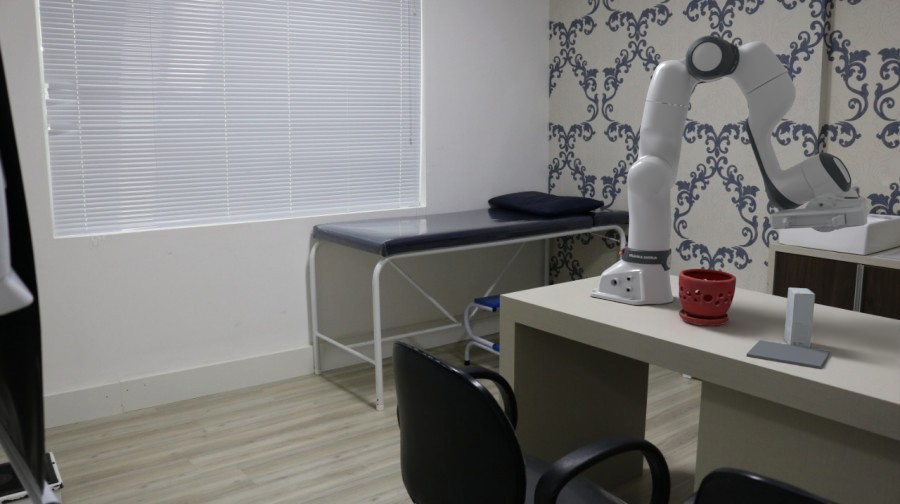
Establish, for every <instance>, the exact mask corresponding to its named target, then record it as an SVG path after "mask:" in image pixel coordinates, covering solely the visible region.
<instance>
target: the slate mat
mask: <svg viewBox="0 0 900 504" xmlns="http://www.w3.org/2000/svg"><path fill="white" fill-rule="evenodd" d="M830 353H831V351H830V350H825V349H818V348H814V347H813V348H811V347H810V348H807V347H801V346H795V345H789V344H788V343H787V344H786V343H781V342H775V341H769V340H768V341H767V340H761V339H760V340H758V341H757V342H756V343H755V345H753V347H751V348H750V349H749V350H748V352H747V353H745V354H746V357H749V358H756V359H761V360H766V361H767V360H768V361H773V362H778V363H785V364H790V363H791V365H796V364H797V365H798V366H802V365H803V366H802V367H809V368H815V369H822V367H823V365H824V364H825V362H826V361H827V358H829V355H830Z"/></svg>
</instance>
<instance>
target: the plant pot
mask: <svg viewBox="0 0 900 504" xmlns="http://www.w3.org/2000/svg"><path fill="white" fill-rule="evenodd" d="M678 273H679V274H678V298H679V304H680V306H681V309H679V310H678V315H679V317H680V318H681V319H682V320H683V321H685V322H687V323H689V324H692V325H696V326H697V325H698V326H706V327H709V326H710V327H711V326H720V325H723V324H725V323H726V322H728V321H729V317H730V316H729V314H728V311H729V310H730V308H731V306H732V304H733V300H734V297H735V294H736V293H735V292H736V285H737V277H736V275H734V274H733V273H730V272H726V271H721V270H717V269H709V268H708V269H707V268H688V269H682V270H681V271H680V272H678Z"/></svg>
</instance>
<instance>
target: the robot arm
mask: <svg viewBox="0 0 900 504" xmlns="http://www.w3.org/2000/svg"><path fill="white" fill-rule="evenodd" d="M788 72H789V71H787V69H786V67H785V66H784V65H783V63H782V62H781V60H780V58H778V56H777V55H776V53H774V51H773V50H772V49H771V48H770V46H769V45H768V44H767V43H766V42H763V41H760V40H757V41H756V40H755V41H750V42H747V43H745V44H743V45H742V46H739V47H738V45H735V44H733V43H731V42H729V41H727V40H725V39H724V38H721V37H719V36H715V35H704V36H701V37H699V38H697V39H696V40H694V41H693V42H692V43H691V44H690V46H689V47H688V48H687V50H686V54H685V57H684V58H683V59H680V60H679V59H678V60H677V59H669V60H665V61H662V62H660V63H659V64H658V65H657V66H656V68H655V69H654V72H653V74H652V77H651V80H650V83H649V85H648V89H647V93H646V98H645V103H644V108H643V113H642V118H641V124H640V128H639V145H638V153H637V155H638V156H637V160H636V161H634V162H633V163H632V164H631V165H630V168H629V169H628V172H627V177H626V181H627V182H626V183H627V186H626V187H627V203H628V204H627V207H628V216H629V217H628V218H629V219H628V223H629V224H628V239H627V240H628V242H627V244H628V245H626V246H625V247H624V248H621V250H619V254H618V255H620V257H621V258H620V260H618V261H617V262H615V263H614V264H612V265H611V266H609V267H608V268H606V269H605V270H603V272H602V273H601V275H600V278H599V281H598V285H597V286H596V287H594V288H592V289H591V290H590V291H589V297H594V298H598V299H603V300H607V301H612V302H618V303H619V302H620V303H622V304H623V303H624V304H628V305H634V306H641V305H658V304H659V305H661V304H667V303H672V302H673V301H674V295H673V291H672V285H671V274H670V273H671V269H672V260H673V258H672V257H673V256H672V248H671V235H672V234H671V233H672V208H671V206H672V205H671V189H672V188H673V187H674V186H675V184H676V181H677V177H678V176H677V175H678V170H679V165H680V160H681V159H680V157H681V151H682V144H683V137H684V131H685V125H686V121H687V117H688V111H689V106H690V102H691V97H692V93H693V90H694V88H695V87H696V85H701V84H707V83H713V82H717V81H719V80H722V79H723V78H729V79H732V80H733V81H734V82H735V83H736V84H737V86H738V87H739V89H740V90H741V93H742V94H743V96H744V98H745V99H746V102H747V106H748V117H747V119H746V120H745V128H746V129H745V130H746V133H747V137H748V141H749V142H750V145H751V149H752V153H753V154H754V155H753V156H754V158H755V160H756V163H757V166H758V169H759V171H760V174H761V177H762V181H763V185H764V189H765V192H766V193H765V194H766V197H767V199H768V201H769V202H770V204H771V205H772V207H773V208H776V209H778V211H776V212H773V213H771V214H770V215H769V221H770V222H769V223H770V228H771V229H773V230H787V229H789V230H790V229H807V228H809V229H810V228H811V229H813V230H814V231H817V232H820V233H829V232H830V233H831V232H834V231H836V230H837V231H838V230H841V229H845V228H853V227H854V228H855V227H861V226H865V225H867V224H868V210H867V209H868V208H867V203H866V202H867V201H866V198H865V197H863V196H862V197H861V196H859V194H858V192H857V191H856V190H855V189H854V188H853V187H852V176H851V175H850V172H849V170H848V168H847V166H846V165H845V163H844V162H843V161H842V160H841V158H839V157H838V156H835V155H833V154H831V153H828V152H823V151H821V152H819V153H817V154H814V155H813V156H810V157H809V158H808V157H807V158H806V159H804V160H802V161H801V162H799V163H797V164H795V165H793V166H791V167H788V168H787V169H782V168H781V165H780V164H779V161H778V158H777V154H776V153H775V149H774V147H773V143H772V133H773V132H774V130H775V128H776V127H777V125H778V124H779V123H780V122H781V121H782V120H783V119H784V117H786V115H787V114H788V112H789V111H790V110H791V108H792V107H793V105H794V103H795V100H796V95H797V91H796V90H797V89H796V87H795V83H794V82H793V80H792V77H791V76H790V74H789V73H788ZM806 203H807V204H806ZM804 204H806V205H805V208H799V207H802V206H803V205H804Z"/></svg>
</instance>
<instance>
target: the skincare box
mask: <svg viewBox="0 0 900 504" xmlns="http://www.w3.org/2000/svg"><path fill="white" fill-rule="evenodd" d="M787 289H788V290H787V299H786V300H787V301H786V302H787V303H786V311H785V323H784V324H785V325H784V333H783V334H784V337H783V340H784V341H785V342H786V343H787V344H788V345H795V346H801V347H807V348H811V343H812V332H813V322H814V321H813V320H814V310H815V309H814V308H815V300H816V293H814V292H813V291H812V290H810V289H809V288H804V287H803V288H802V287H801V288H800V287H788V288H787Z"/></svg>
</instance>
